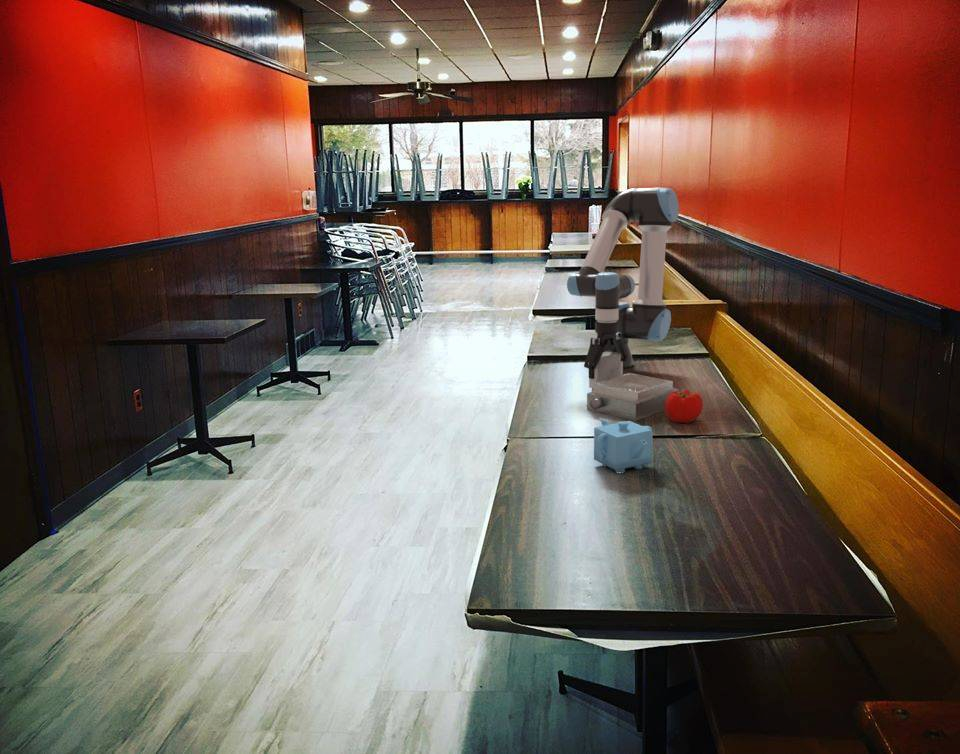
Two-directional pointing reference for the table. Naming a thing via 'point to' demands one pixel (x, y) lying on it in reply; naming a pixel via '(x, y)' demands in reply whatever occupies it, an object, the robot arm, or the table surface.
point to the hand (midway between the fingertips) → (606, 384)
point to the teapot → (623, 445)
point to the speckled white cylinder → (608, 366)
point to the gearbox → (630, 396)
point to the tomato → (683, 406)
